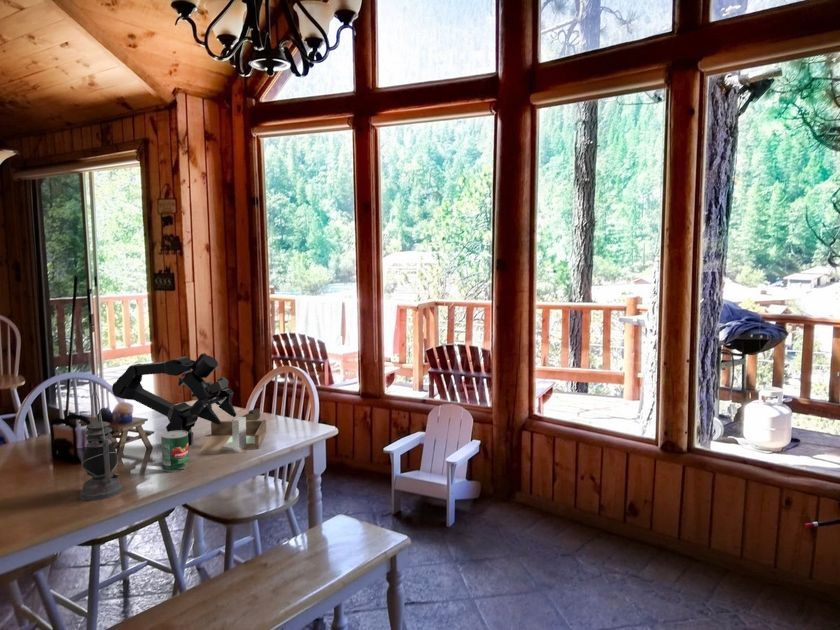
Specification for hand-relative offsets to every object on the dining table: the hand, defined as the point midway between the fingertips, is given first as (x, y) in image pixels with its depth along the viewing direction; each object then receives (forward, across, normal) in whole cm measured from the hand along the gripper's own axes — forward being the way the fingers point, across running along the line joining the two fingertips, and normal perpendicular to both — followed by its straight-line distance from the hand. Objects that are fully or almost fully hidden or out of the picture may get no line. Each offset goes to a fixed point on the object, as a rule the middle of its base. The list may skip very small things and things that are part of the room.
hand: (227, 419), depth 195 cm
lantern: (-3, -39, +19) cm, 44 cm away
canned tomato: (+2, -17, +14) cm, 22 cm away
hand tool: (0, +30, +17) cm, 35 cm away
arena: (+7, +6, +9) cm, 13 cm away
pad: (+8, +9, +8) cm, 14 cm away
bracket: (+9, 0, +6) cm, 10 cm away
